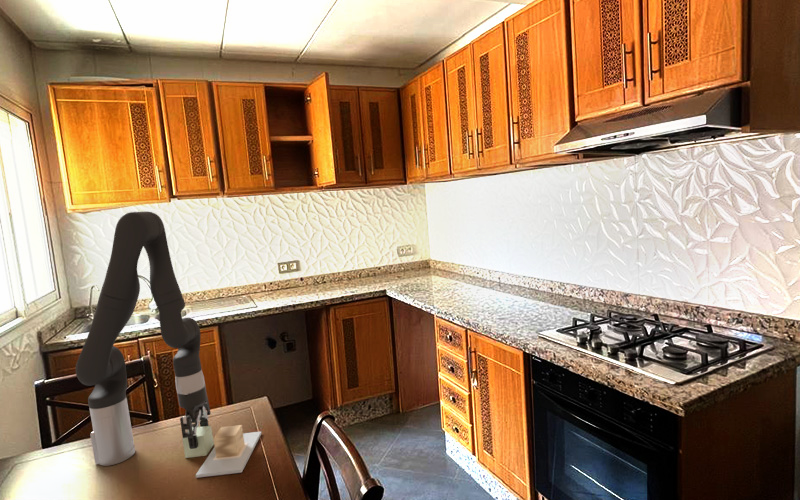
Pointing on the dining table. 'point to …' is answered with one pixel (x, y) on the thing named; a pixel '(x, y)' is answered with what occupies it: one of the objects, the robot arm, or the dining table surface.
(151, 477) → the dining table surface
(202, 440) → the sage block
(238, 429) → the maple block
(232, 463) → the white rectangular board
